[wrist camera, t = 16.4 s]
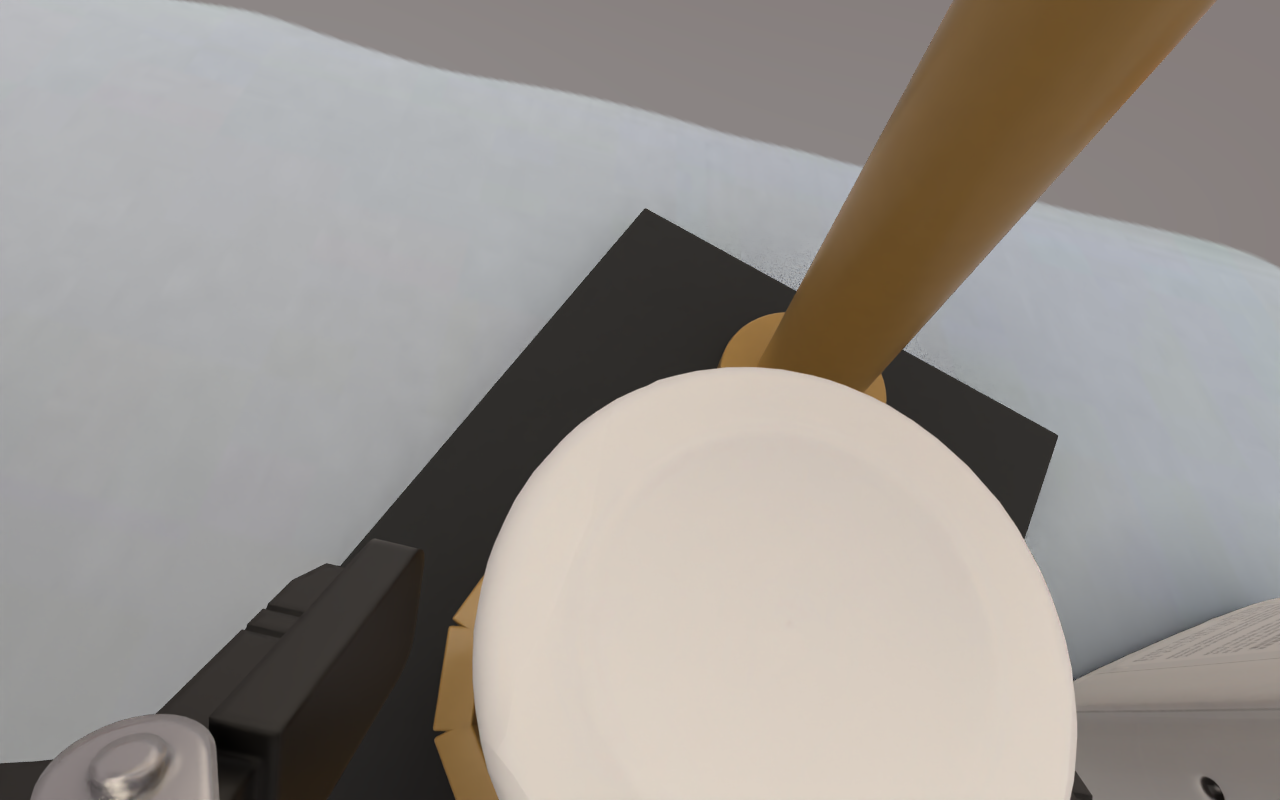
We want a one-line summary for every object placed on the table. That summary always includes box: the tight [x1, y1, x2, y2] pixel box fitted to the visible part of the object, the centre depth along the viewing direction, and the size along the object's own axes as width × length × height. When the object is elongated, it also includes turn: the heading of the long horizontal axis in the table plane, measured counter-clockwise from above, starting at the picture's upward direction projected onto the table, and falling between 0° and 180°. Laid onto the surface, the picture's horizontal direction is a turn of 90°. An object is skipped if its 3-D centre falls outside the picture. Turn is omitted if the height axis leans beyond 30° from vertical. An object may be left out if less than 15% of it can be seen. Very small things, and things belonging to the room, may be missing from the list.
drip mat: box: [327, 209, 1058, 800], centre depth 19 cm, size 16×21×1 cm
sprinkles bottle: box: [472, 367, 1077, 800], centre depth 11 cm, size 5×4×14 cm
